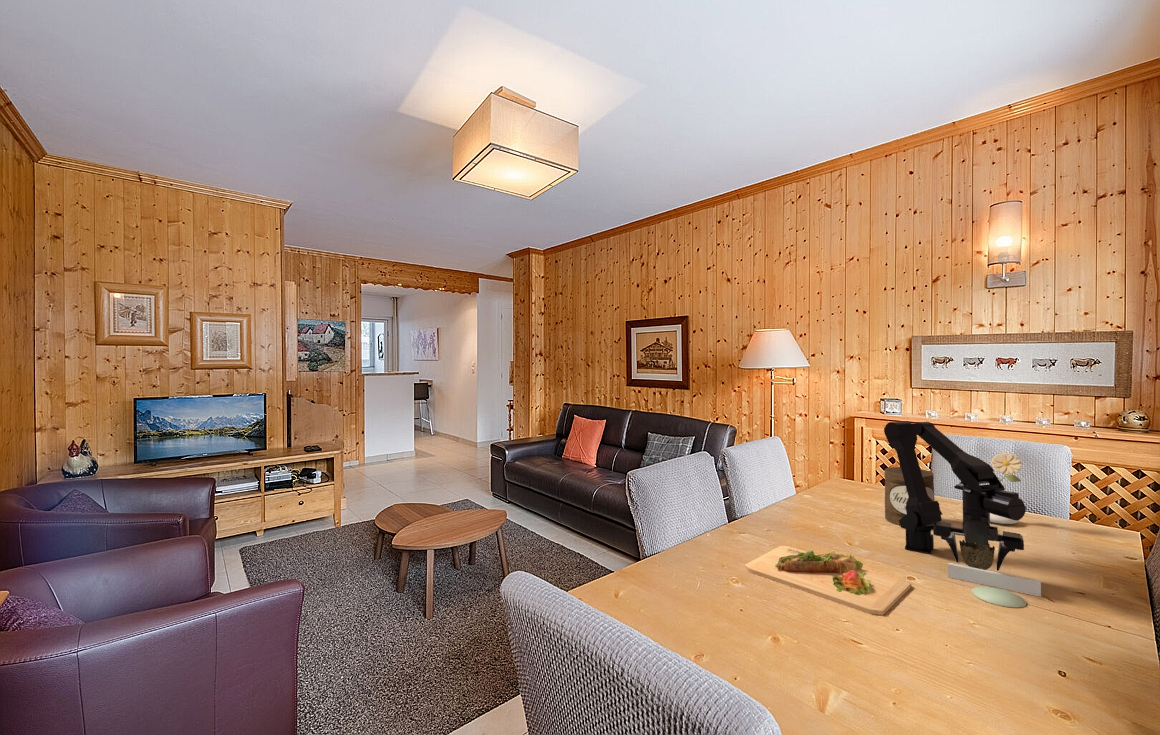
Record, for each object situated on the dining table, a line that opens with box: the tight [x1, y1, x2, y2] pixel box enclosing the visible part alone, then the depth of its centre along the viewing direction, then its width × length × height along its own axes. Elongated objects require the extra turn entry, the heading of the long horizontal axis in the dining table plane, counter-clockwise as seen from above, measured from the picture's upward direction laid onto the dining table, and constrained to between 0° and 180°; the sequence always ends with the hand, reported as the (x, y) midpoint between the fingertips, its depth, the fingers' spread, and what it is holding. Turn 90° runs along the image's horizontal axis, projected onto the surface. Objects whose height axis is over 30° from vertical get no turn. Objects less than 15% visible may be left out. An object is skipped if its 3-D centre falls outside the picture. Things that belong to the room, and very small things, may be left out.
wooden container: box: [884, 466, 936, 526], centre depth 173 cm, size 15×15×22 cm
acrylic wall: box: [947, 562, 1042, 598], centre depth 123 cm, size 18×1×4 cm, turn 50°
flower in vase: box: [990, 452, 1023, 525], centre depth 170 cm, size 13×11×25 cm
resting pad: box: [971, 586, 1027, 609], centre depth 117 cm, size 10×10×1 cm
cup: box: [959, 539, 996, 570], centre depth 131 cm, size 8×7×8 cm
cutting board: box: [744, 545, 912, 616], centre depth 130 cm, size 35×23×8 cm
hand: (977, 566), depth 131 cm, fingers open, 8 cm apart
